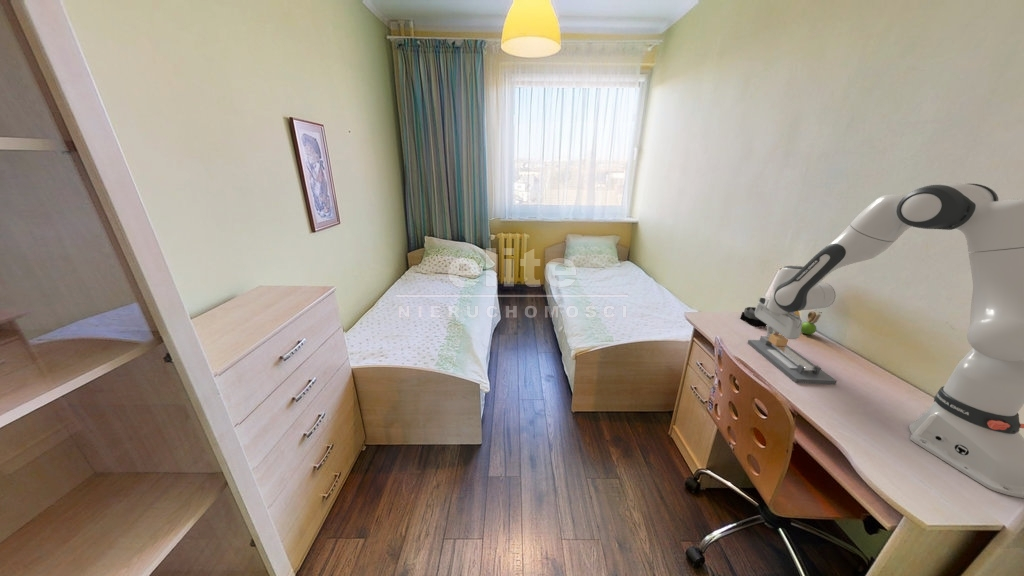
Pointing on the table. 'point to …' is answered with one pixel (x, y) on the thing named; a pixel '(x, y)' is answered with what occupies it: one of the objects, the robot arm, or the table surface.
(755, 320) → the cpu cooler
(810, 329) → the snail figurine
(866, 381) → the table surface
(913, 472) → the table surface
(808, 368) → the grey metal bar
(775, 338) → the tan small block
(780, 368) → the socket frame
